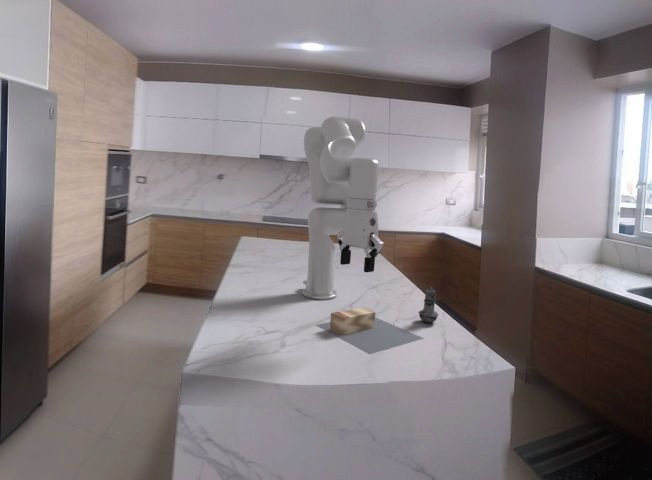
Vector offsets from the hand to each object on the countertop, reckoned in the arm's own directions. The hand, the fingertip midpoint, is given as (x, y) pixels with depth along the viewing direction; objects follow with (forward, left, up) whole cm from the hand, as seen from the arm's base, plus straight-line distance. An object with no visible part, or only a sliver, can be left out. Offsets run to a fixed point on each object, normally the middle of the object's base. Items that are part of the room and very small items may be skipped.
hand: (356, 267), depth 111 cm
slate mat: (+4, +2, -18) cm, 19 cm away
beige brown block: (0, 0, -17) cm, 17 cm away
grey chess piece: (+7, +24, -18) cm, 31 cm away
